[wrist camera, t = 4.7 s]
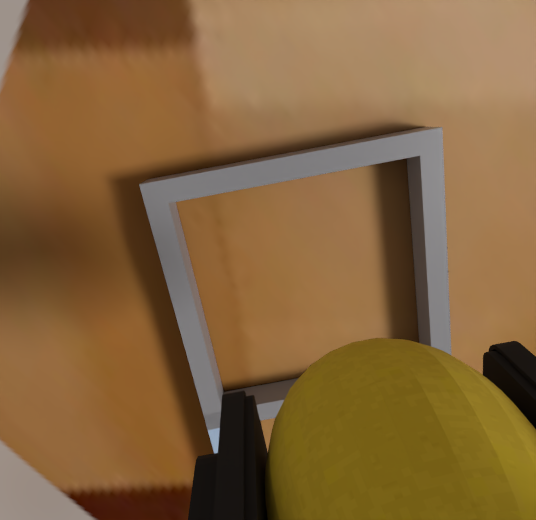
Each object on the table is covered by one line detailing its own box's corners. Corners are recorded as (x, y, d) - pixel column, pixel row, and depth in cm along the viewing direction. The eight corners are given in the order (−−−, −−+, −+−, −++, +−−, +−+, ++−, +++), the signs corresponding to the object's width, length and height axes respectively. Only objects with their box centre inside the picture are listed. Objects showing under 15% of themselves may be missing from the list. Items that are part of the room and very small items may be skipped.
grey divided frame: (147, 179, 19) (139, 184, 18) (426, 126, 19) (442, 127, 17) (250, 559, 27) (251, 585, 26) (446, 523, 27) (458, 547, 25)
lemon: (220, 392, 12) (183, 867, 5) (344, 245, 11) (586, 580, 3) (362, 471, 13) (512, 937, 6) (487, 351, 12) (889, 757, 5)
